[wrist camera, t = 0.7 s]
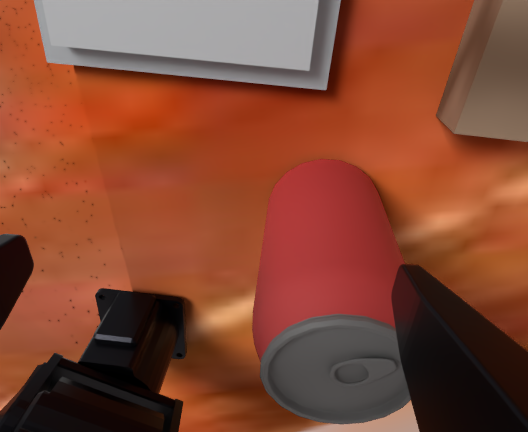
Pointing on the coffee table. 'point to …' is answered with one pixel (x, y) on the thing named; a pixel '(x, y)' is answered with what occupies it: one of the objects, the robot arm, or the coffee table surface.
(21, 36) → the coffee table surface
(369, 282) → the beer can
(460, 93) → the metal block
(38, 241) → the coffee table surface
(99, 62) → the stand
